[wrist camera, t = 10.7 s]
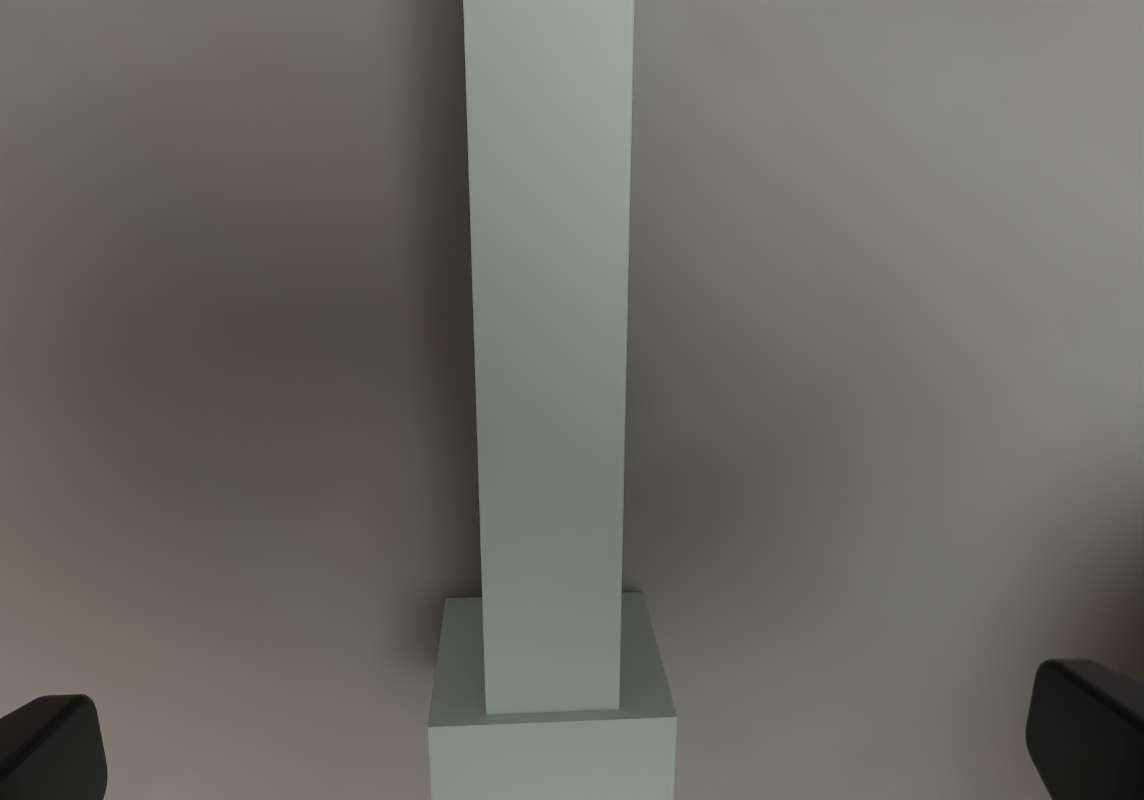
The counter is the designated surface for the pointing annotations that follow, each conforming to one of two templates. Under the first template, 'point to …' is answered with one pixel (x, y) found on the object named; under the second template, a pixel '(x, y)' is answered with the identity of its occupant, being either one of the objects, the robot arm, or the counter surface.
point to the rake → (550, 428)
